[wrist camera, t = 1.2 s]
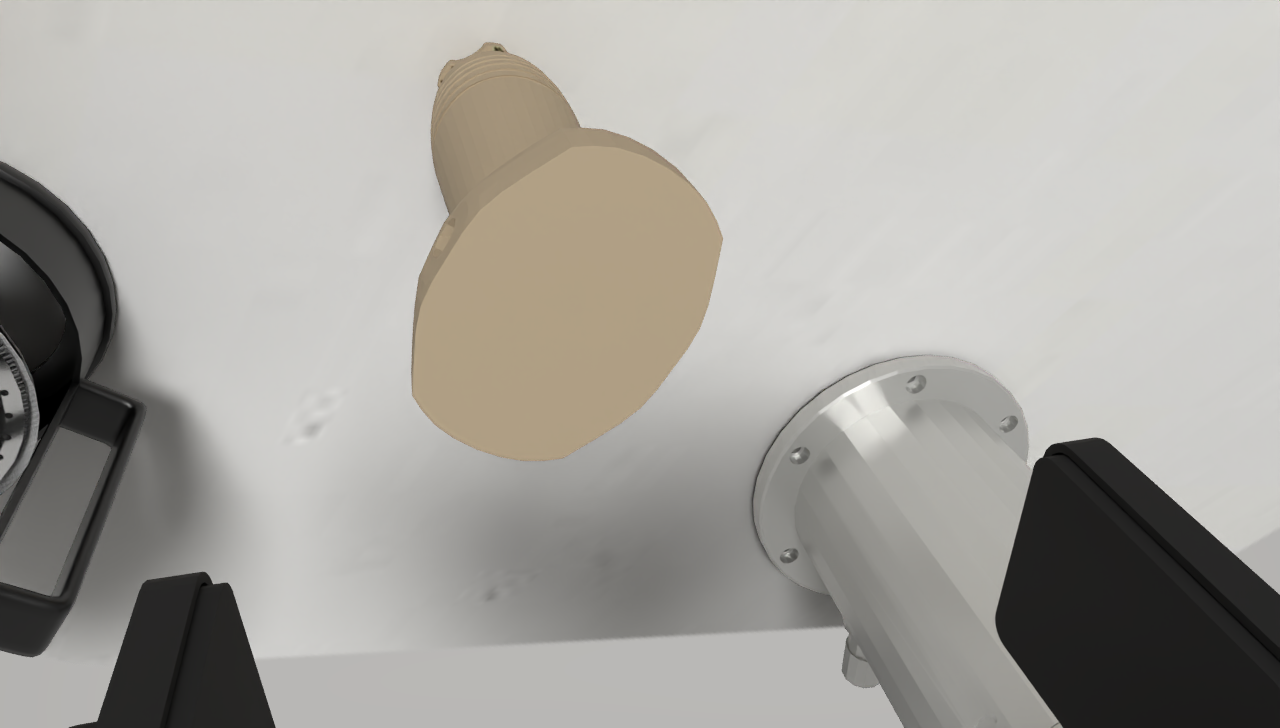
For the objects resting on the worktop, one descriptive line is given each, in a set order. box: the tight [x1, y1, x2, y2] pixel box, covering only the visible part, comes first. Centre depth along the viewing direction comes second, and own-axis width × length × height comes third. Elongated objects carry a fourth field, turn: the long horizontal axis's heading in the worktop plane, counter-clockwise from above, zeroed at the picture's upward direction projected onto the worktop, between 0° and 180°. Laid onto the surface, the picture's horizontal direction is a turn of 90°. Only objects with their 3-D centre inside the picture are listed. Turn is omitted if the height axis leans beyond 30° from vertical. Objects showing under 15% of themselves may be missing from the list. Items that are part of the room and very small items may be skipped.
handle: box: [411, 42, 723, 461], centre depth 23 cm, size 5×6×15 cm
